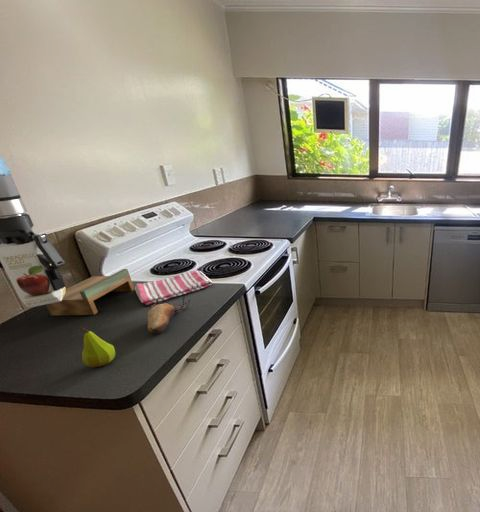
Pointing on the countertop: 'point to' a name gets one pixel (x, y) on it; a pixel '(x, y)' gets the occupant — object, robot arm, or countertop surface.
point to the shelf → (90, 294)
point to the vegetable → (161, 316)
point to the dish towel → (171, 287)
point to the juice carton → (28, 274)
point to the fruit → (96, 350)
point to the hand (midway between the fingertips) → (42, 288)
